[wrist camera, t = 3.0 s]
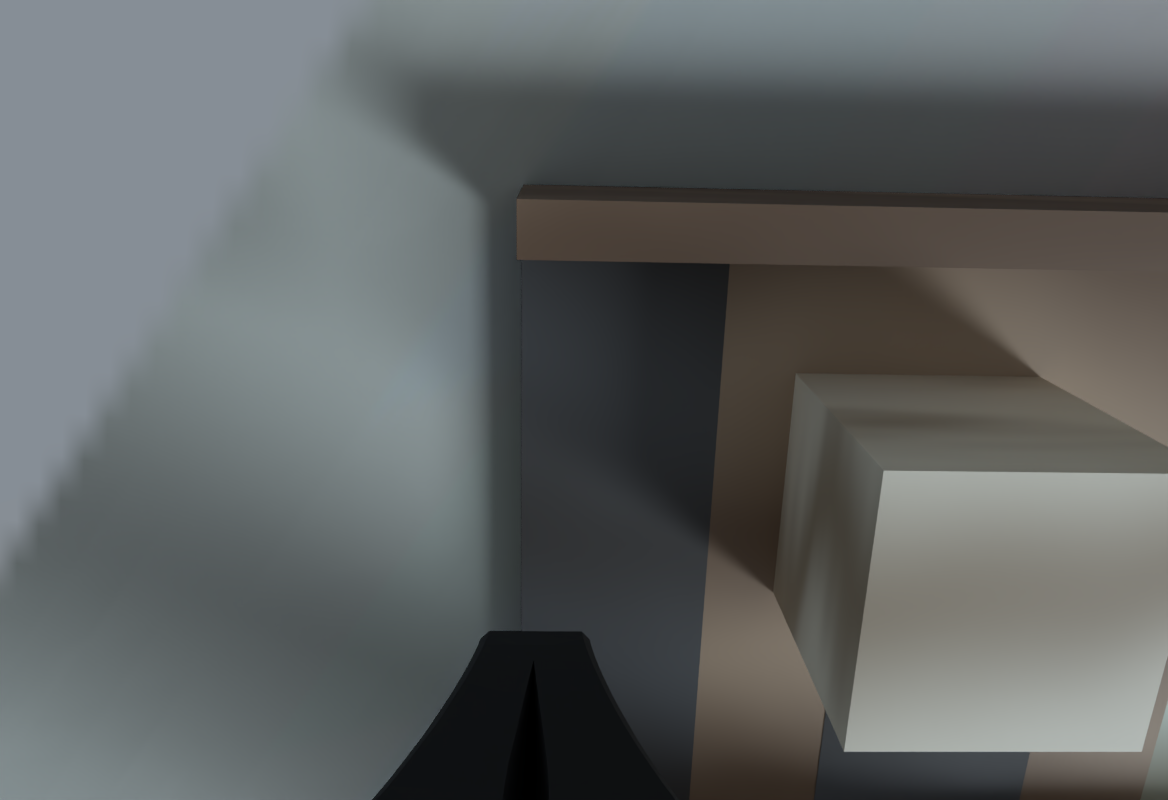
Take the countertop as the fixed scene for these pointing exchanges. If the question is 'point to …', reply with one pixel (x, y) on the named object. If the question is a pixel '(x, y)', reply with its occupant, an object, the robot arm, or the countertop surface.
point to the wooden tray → (761, 436)
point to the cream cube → (974, 564)
